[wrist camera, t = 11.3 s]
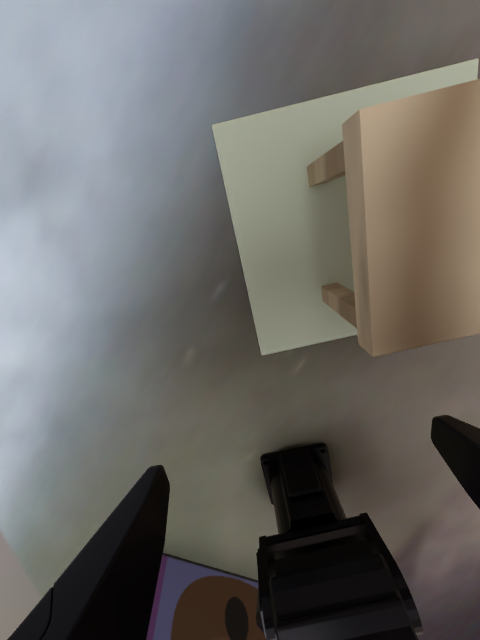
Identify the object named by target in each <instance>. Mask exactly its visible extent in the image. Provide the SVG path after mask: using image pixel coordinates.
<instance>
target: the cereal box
mask: <svg viewBox="0 0 480 640" xmlns="http://www.w3.org/2000/svg"><path fill="white" fill-rule="evenodd" d="M257 593H258V581H257V580H254V579H250V578H247V577H244V576H240V575H237V574H233V573H230V572H227V571H223V570H220V569H216V568H213V567H209V566H206V565H203V564H199V563H196V562H192V561H189V560H186V559H182V558H179V557H175V556H172V555H168V554H165V553H163V555H162V560H161V565H160V571H159V576H158V581H157V586H156V592H155V597H154V602H153V607H152V613H151V618H150V623H149V628H148V634H147V639H146V640H266V638H265V635H264V634H263V633H262V631H261V630H260V629H259V628H258V626H257V622H256V606H257Z"/></svg>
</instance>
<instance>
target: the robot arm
mask: <svg viewBox="0 0 480 640" xmlns="http://www.w3.org/2000/svg"><path fill="white" fill-rule="evenodd" d="M431 439H432V442H433V444H434V446H435V447H436V449H437V450H438V452H439V453H440V455H441V456H442V457H443V459H444V460H445V462H446V463H447V465H448V466H449V468H450V469H451V471H452V472H453V474H454V475H455V477H456V478H457V480H458V481H459V483H460V484H461V485H462V487H463V488H464V490H465V491H466V492H467V494H468V495H469V496H470V498H471V499H472V500H473V501H474V503H475V504H476V505H477V506H478V508H479V509H480V429H479V428H477V427H475V426H472V425H470V424H468V423H465V422H463V421H461V420H458V419H456V418H453V417H451V416H448V415H442V416H436V417H434V418H433V419H432V428H431ZM321 449H322V450H321ZM261 466H262V470H263V473H264V477H265V481H266V485H267V489H268V493H269V496H270V500H271V503H272V504H273V505H274V509H275V515H276V521H277V527H278V533H279V534H277V535H272V536H268V537H266V536H262V537H259V549H258V552H257V553H256V555H257V566H258V593H257V606H256V622H257V626H258V628H259V629H260V630H261V631H262V633H263V634H264V635H265V638H266V640H418V638H417V635H421V634H423V629H422V624H421V620H420V617H419V614H418V611H417V608H416V606H415V603H414V601H413V598H412V596H411V593H410V591H409V588H408V586H407V584H406V582H405V580H404V577H403V575H402V573H401V571H400V569H399V567H398V566H397V564H396V562H395V560H394V559H393V557H392V555H391V553H390V552H389V550H388V548H387V547H386V545H385V543H384V541H383V540H382V538H381V536H380V535H379V533H378V531H377V530H376V528H375V526H374V524H373V523H372V521H371V519H370V518H369V516H368V514H367V513H362V514H360V516H355V517H351V518H347V519H346V516H345V514H344V511H343V509H342V506H341V504H340V501H339V499H338V496H337V494H336V491H335V489H334V487H333V482H332V475H331V467H330V460H329V453H328V448H327V446H326V445H325V444H317V445H312V446H308V447H303V448H298V449H293V450H288V451H284V452H279V453H274V454H269V455H264V456H262V457H261ZM169 493H170V484H169V480H168V478H167V475H166V472H165V469H164V467H163V466H162V465H156V466H151V467H149V468H148V469H147V470H146V472H145V473H144V474H143V475H142V477H141V478H140V479H139V480H138V481H137V483H136V484H135V485H134V486H133V488H132V489H131V490H130V491H129V492H128V494H127V495H126V496H125V497H124V499H123V500H122V501H121V502H120V504H119V505H118V506H117V507H116V508H115V510H114V511H113V512H112V513H111V515H110V516H109V517H108V518H107V519H106V521H105V522H104V523H103V524H102V526H101V527H100V528H99V529H98V531H97V532H96V533H95V534H94V535H93V537H92V538H91V539H90V540H89V542H88V543H87V544H86V545H85V546H84V548H83V549H82V550H81V551H80V553H79V554H78V555H77V556H76V558H75V559H74V560H73V561H72V562H71V564H70V565H69V566H68V567H67V569H66V570H65V571H64V572H63V573H62V575H61V576H60V577H59V578H58V580H57V581H56V582H55V583H54V586H53V587H51V588H50V589H49V590H48V592H47V593H46V594H45V595H44V597H43V598H42V599H41V600H40V602H39V603H38V604H37V605H36V606H35V608H34V609H33V610H32V611H31V612H30V614H29V615H28V616H27V617H26V618H25V620H24V621H23V622H22V623H21V624H20V626H19V627H18V628H17V629H16V630H15V631H14V633H13V634H12V635H11V636H10V637H9V638H8V639H7V640H146V639H147V634H148V628H149V623H150V618H151V613H152V607H153V602H154V597H155V592H156V586H157V581H158V576H159V571H160V565H161V560H162V555H163V549H164V543H165V534H166V524H167V514H168V503H169Z"/></svg>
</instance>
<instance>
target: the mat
mask: <svg viewBox="0 0 480 640" xmlns="http://www.w3.org/2000/svg"><path fill="white" fill-rule="evenodd" d="M478 61H479V58H478V59H474V60H470V61H466V62H462V63H458V64H454V65H450V66H446V67H442V68H438V69H434V70H430V71H426V72H422V73H418V74H414V75H410V76H406V77H402V78H398V79H394V80H390V81H386V82H382V83H378V84H374V85H370V86H366V87H362V88H358V89H354V90H350V91H346V92H342V93H338V94H334V95H330V96H326V97H322V98H318V99H314V100H310V101H306V102H302V103H298V104H294V105H290V106H286V107H282V108H278V109H274V110H270V111H266V112H262V113H258V114H254V115H250V116H246V117H242V118H238V119H234V120H230V121H226V122H222V123H218V124H214V125H212V130H213V135H214V139H215V144H216V148H217V153H218V158H219V162H220V167H221V171H222V176H223V181H224V185H225V190H226V194H227V199H228V204H229V208H230V213H231V217H232V222H233V227H234V231H235V236H236V240H237V245H238V250H239V254H240V259H241V263H242V268H243V273H244V277H245V282H246V286H247V291H248V296H249V300H250V305H251V309H252V314H253V319H254V323H255V328H256V333H257V337H258V342H259V346H260V351H261V355H267V354H271V353H276V352H280V351H285V350H290V349H294V348H299V347H303V346H308V345H312V344H317V343H321V342H326V341H331V340H335V339H340V338H344V337H349V336H353V335H358V334H357V328H355V327H354V326H353V325H352V324H350V323H349V322H348V321H347V320H345V319H344V318H343V317H342V316H340V315H339V314H338V313H337V312H335V311H334V310H333V309H332V308H330V307H329V306H328V305H327V304H325V303H324V302H323V298H322V290H321V286H325V285H329V284H333V283H339V284H340V285H342V286H344V287H346V288H348V289H350V290H352V291H354V281H353V268H352V254H351V241H350V227H349V214H348V201H347V187H346V175H344V176H342V177H339V178H337V179H335V180H332V181H330V182H327V183H324V184H319V185H315V186H311V187H309V181H308V173H307V166H308V165H310V164H311V163H312V162H314V161H315V160H317V159H318V158H319V157H321V156H322V155H323V154H325V153H326V152H328V151H329V150H330V149H332V148H333V147H335V146H336V145H337V144H339V143H340V142H341V141H343V134H342V124H343V123H344V122H345V121H346V120H348V119H349V118H350V117H351V116H352V115H353V114H354V113H356V112H357V111H358V110H359V109H362V108H366V107H370V106H374V105H378V104H382V103H386V102H390V101H394V100H398V99H401V98H405V97H409V96H413V95H417V94H421V93H425V92H429V91H433V90H437V89H441V88H445V87H449V86H453V85H457V84H461V83H465V82H469V81H473V80H477V74H478Z"/></svg>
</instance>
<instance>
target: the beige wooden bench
mask: <svg viewBox="0 0 480 640" xmlns="http://www.w3.org/2000/svg"><path fill="white" fill-rule="evenodd" d="M342 134H343V141H341V142H340V143H339V144H337V145H336V146H335V147H333V148H332V149H330V150H329V151H328V152H326V153H325V154H323V155H322V156H321V157H319V158H318V159H317V160H315V161H314V162H312V163H311V164H310V165H308V166H307V173H308V181H309V187H311V186H315V185H319V184H324V183H327V182H330V181H332V180H335V179H337V178H339V177H342V176H344V175H346V187H347V201H348V214H349V227H350V241H351V254H352V268H353V281H354V291H352V290H350V289H348V288H346V287H344V286H342V285H340V284H339V283H333V284H329V285H325V286H321V290H322V298H323V302H324V303H325V304H327V305H328V306H329V307H330V308H332V309H333V310H334V311H335V312H337V313H338V314H339V315H340V316H342V317H343V318H344V319H345V320H347V321H348V322H349V323H350V324H352V325H353V326H354V327H355V328H357V334H358V344H359V345H360V346H361V347H362V348H363V349H364V350H366V351H367V352H368V353H369V354H370V355H371V356H372V357H376V356H381V355H385V354H390V353H394V352H399V351H403V350H408V349H412V348H417V347H421V346H426V345H430V344H435V343H440V342H444V341H449V340H453V339H458V338H462V337H467V336H471V335H476V334H480V79H477V80H473V81H469V82H465V83H461V84H457V85H453V86H449V87H445V88H441V89H437V90H433V91H429V92H425V93H421V94H417V95H413V96H409V97H405V98H401V99H398V100H394V101H390V102H386V103H382V104H378V105H374V106H370V107H366V108H362V109H359V110H358V111H357V112H356V113H354V114H353V115H352V116H351V117H350V118H349V119H348V120H346V121H345V122H344V123H343V124H342Z"/></svg>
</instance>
